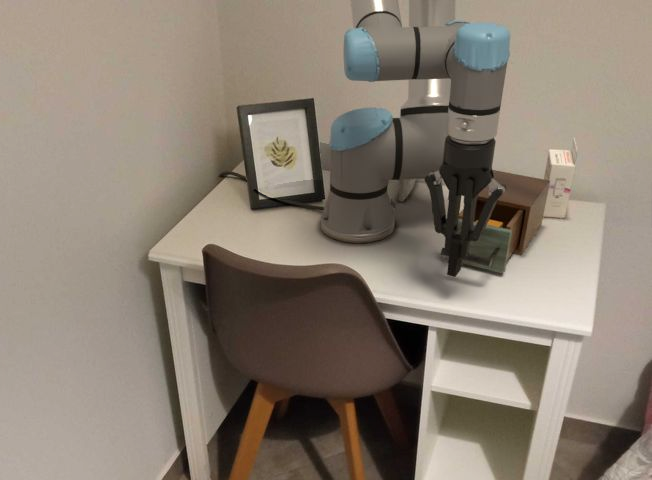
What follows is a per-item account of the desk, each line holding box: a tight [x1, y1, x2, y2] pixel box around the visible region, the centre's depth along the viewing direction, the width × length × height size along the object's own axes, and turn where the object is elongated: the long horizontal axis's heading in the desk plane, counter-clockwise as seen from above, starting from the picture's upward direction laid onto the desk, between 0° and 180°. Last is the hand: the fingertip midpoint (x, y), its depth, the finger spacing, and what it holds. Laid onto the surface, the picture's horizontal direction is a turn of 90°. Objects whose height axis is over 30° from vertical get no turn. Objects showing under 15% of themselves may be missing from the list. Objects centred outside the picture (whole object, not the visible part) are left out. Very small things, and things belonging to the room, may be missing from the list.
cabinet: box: [477, 169, 550, 256], centre depth 141 cm, size 14×13×10 cm
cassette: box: [398, 179, 416, 203], centre depth 158 cm, size 12×2×8 cm, turn 159°
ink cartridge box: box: [543, 136, 579, 219], centre depth 148 cm, size 9×5×15 cm, turn 168°
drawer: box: [440, 200, 526, 274], centre depth 131 cm, size 19×11×8 cm, turn 149°
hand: (453, 272), depth 121 cm, fingers closed
